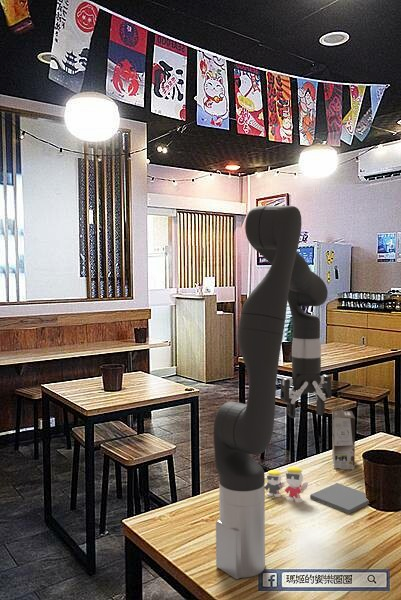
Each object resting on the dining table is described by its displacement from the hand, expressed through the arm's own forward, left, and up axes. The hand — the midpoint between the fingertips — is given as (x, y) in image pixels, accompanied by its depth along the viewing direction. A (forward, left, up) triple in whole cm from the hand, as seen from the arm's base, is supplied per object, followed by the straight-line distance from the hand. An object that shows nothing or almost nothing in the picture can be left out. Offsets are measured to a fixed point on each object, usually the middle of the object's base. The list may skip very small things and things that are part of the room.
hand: (306, 415), depth 135 cm
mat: (+7, -7, -22) cm, 24 cm away
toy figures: (-3, +4, -23) cm, 23 cm away
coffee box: (+29, +8, -23) cm, 37 cm away
